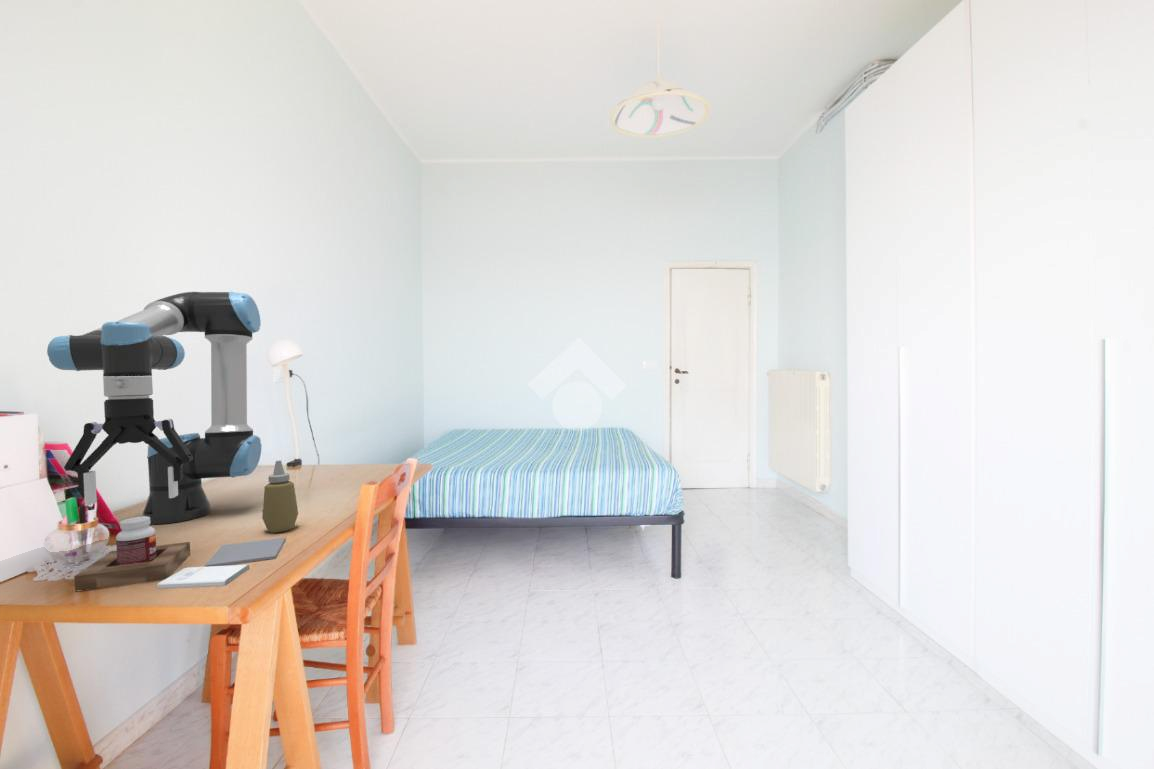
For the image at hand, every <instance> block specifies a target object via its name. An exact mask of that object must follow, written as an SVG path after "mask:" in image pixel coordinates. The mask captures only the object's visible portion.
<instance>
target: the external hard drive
mask: <svg viewBox="0 0 1154 769" xmlns="http://www.w3.org/2000/svg"><path fill="white" fill-rule="evenodd" d="M249 569H250V564H232V565H224V566H209V567H205V566H191V567H189V566H188V567H184V568H182V569H180V570H179V571H177V572H175V573H174V574H171V575H170V576H169V577H168V578H166V579H164V580H160V582H158V583H157V585H156V587H157V589H176V588H177V589H180V588H200V587H201V588H202V587H220V586H222V587H223V586H227V585H228V584H229V583H230V582H233V581H234V580H235V579H237V578H238V577H240V576H241V575H242V574H243V573H245V572H247V571H248V570H249Z"/></svg>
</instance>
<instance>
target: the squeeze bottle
mask: <svg viewBox="0 0 1154 769" xmlns="http://www.w3.org/2000/svg"><path fill="white" fill-rule="evenodd" d="M283 466H284V465H283V463H282V460H276V461H275V464H274V468H273V474H269V475H268V483H267V484H266V485H265V486H264V493H263V494H264V495H263V505H262V515H261V516H262V517H261V519H262V521H263V523H264V525H265V528H266V529H267V532H269V533H283V532H287V531H290V530H292V529H294V527H295V525H296V522H297V518H298V516H299V509H298V500H297V496H296V489H295V484H294V482H292V480H290V479H291V478H290V473H288V472H285V469H284V467H283Z"/></svg>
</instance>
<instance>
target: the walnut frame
mask: <svg viewBox="0 0 1154 769" xmlns="http://www.w3.org/2000/svg"><path fill="white" fill-rule="evenodd" d="M190 556H191V541H186V542H178V543H169V544H160V545H156V558H155V559H154V560H153V561H150V562H142V563H134V564H126V565H118V566H117V550H111V551H109V552H108V553H106V554H105V555H104V556H102V557H101V558H99V559H98V560H96V561H95V562H93V563H92V564H90V565H88V566H87V567H86V568H85V569H83V570H82V571H80V572H79V573H77V574H75V575H74V576H73V577H74V590H75V591H77V590H85V591H88V590H87V589H92V590H97V589H96V588H99V589H104V588H103V587H106V588H113V587H120V586H126V585H135V584H142V583H147V582H149V583H150V582H155V581H163V580H165V579H166V578H168V577H170V576H171V575H173V573H174V572H175V571H176V570H177V569H178V568H179V567H180V566H181V565H183V563H184V562H185V561H186V560H187V559H188V558H189V557H190ZM170 574H171V575H170ZM75 591H74V592H75ZM77 592H78V591H77Z"/></svg>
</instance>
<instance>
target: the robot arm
mask: <svg viewBox="0 0 1154 769" xmlns="http://www.w3.org/2000/svg"><path fill="white" fill-rule="evenodd" d="M260 329H261V315H260V311H259V308H258V305H257V304H256V301H255V300H254V298H253V297H252V296H251V295H249V294H248V293H245V292H234V291H221V292H220V291H212V292H211V291H187V292H180V293H176V294H172V295H168V296H165V297H162V298H159V299H156V300H154V301H152V302H149V303H148V304H146V306H144V308H143V309H142V310H140V311H138V312H136V313H132V314H130V315H128V316H126V317H123V318H121V319H118V320H116V321H108V322H107V321H106V322H104V323H103V324H102V325H101V327H99V328H97V329H95V330H91V331H89V332H87V333H84V334H79V335H72V334H68V335H60V336H55V337H53V338H52V339H51V340H50V341H49V343H48V345H47V350H46V352H47V353H46V355H47V357H48V360H49V363H51V365H52V366H53V367H54V368H56V369H57V370H62V371H76V372H80V371H81V372H82V371H102V372H103V374H102V376H103V377H102V379H103V383H102V384H103V396H104V397H107V398H108V399H105V401H103V406H104V418H105V419H104V420H105V421H104V422H103V423H99V422H98V423H97V422H95V421H92V422H86V423H85V424H84V426H83V432H82V436H81V437H80V439H79V441H78V442H77V444H76V445H75V448H74V449H73V451H72V453H71V454H70V457H69V458H68V460H67V462H66V464H65V465H64V467H63V469H64V470H65V471H71V472H74V473H76V474H77V486H78V488H79V489H80V490H83V495H84V496H83V497H84V499H83V500H84V507H88V506H91V505H94V504H96V503H97V502H98V501H97V500H98V499H97V478H96V477H97V475H96V473H97V472H96V470H92V468H93V467H94V466H95V465H96V464H97V463H98V462H99V461H100V460H101V458H102V457H103V456H105V454H106V453H108V452H109V450H111V449H112V448H113V447H114V446H115V445H116V444H119V445H123V444H127V443H130V444H131V443H132V444H139V443H141V442H143V443H144V444H146V445H148V446H147V455H146V458H147V466H148V467H147V468H148V485H149V494H148V498H147V500H146V503H145V506H144V509H143V511H142V517H143V516H147V517H150V522H151V523H150V524H149V525H163V524H172V523H179V522H185V521H189V520H193V519H198V518H201V517H204V516H206V515H208V514H209V513H210V512H211V504H210V501H209V499H208V497H207V494H206V492H205V490H204V489H203V486H202V483H203V482H202V479H216V478H217V479H218V478H237V477H245V476H249V475H251V474H252V473H253V472H254V471H255V470H256V469H257V467H258V465H259V462H260V459H261V455H262V442H261V438H260V437H259V436H257V435H254V429H253V428H252V427H250V426H249V424H248V400H247V399H248V391H247V390H248V388H247V387H248V385H247V384H248V381H247V380H248V379H247V378H248V376H247V375H248V374H247V373H248V372H247V371H248V370H247V369H248V368H247V365H248V364H247V363H248V362H247V357H248V356H247V350H248V349H247V344H248V343H250V342H251V341H252V340H253V334H255V333H257V332H259V331H260ZM187 332H188V333H191V332H192V333H204V339H206V340H207V341H208V342H210V358H211V359H210V362H211V363H210V368H211V369H210V370H211V371H210V372H211V373H210V374H211V376H210V377H211V378H210V380H211V383H210V385H211V386H210V387H211V389H210V390H211V394H210V396H211V398H210V399H211V400H210V403H211V404H210V406H211V408H210V409H211V411H210V412H211V415H210V416H211V417H210V418H211V420H210V422H211V425H210V427H208V428H207V429H206V430H204V437H201V435H200V434H199V432H196V433H195V432H193V433H186V434H178V433H177V431H176V429H175V425H174V420H173V419H171V418H167V419H163V420H158V421H156V419H155V418H154V412H155V411H154V399H153V398H152V397H150V396H152V395H153V394H154V391H153V390H154V389H153V371H152V370H160V371H161V370H162V371H166V370H171V369H174V368H176V367H178V366H180V365H181V363H182V362H183V361H184V358H185V354H186V352H185V348H184V347H183V344H181V342H179V341H178V340H176V339H174V338H172V337H169V336H171V335H172V336H173V335H176V334H177V333H187ZM156 428H158V430H160V431H161V432H163V434H164V436H165V437H164V438H159V437H158V436H157V435H156V434H155V433H153V432H154V430H155V429H156ZM102 430H103V431H104V432H105V433H106V434H107V436H106V437H105V439H103V441H101V443H100V444H99V446H97V448H96V449H94V450H93V452H92V453H91V454H90V455H88V457H87V458H86V459H84V458H85V456H86V454H87V453H88V452H89V451H88V450H89V449H90V448H91V446H92V445H93V442H94V441H95V439H96V438H97V435H98V434H99V433H101V431H102Z"/></svg>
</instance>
